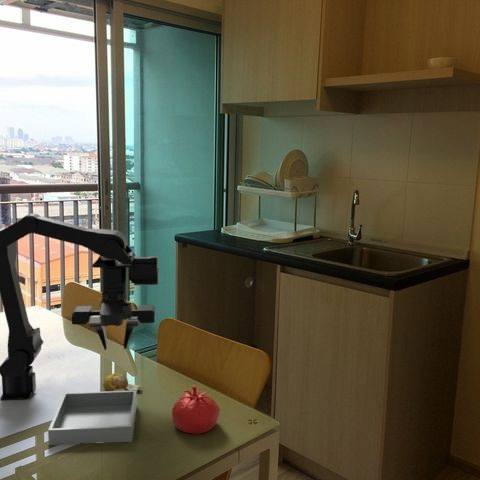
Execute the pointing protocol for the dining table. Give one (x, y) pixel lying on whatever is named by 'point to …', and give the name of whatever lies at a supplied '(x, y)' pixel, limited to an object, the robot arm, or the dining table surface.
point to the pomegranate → (195, 412)
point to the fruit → (118, 383)
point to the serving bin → (94, 418)
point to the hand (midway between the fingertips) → (115, 349)
